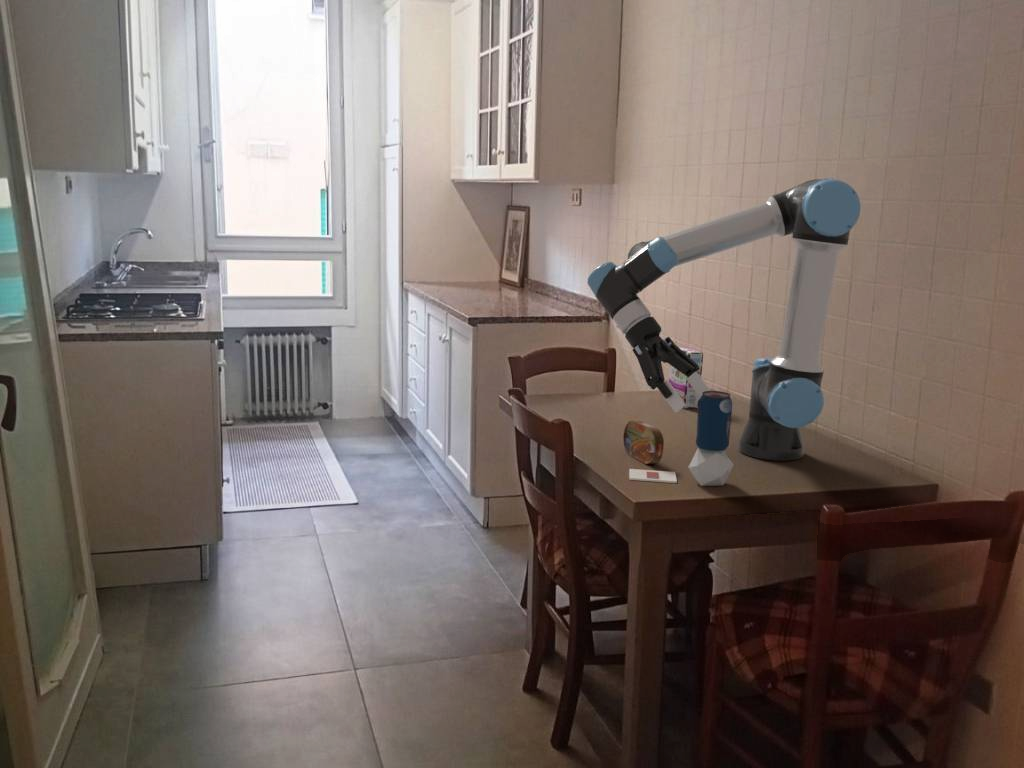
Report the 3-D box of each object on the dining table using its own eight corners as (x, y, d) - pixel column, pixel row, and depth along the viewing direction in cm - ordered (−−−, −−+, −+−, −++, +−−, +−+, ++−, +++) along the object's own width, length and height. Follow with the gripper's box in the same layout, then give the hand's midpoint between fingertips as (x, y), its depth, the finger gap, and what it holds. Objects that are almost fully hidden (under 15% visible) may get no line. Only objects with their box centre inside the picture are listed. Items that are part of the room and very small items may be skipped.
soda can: (734, 452, 201) (738, 396, 199) (703, 453, 199) (708, 397, 197) (719, 444, 208) (724, 389, 205) (689, 445, 206) (694, 390, 204)
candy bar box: (699, 408, 276) (704, 352, 272) (684, 409, 274) (688, 352, 271) (681, 400, 286) (686, 346, 283) (666, 400, 285) (670, 346, 281)
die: (725, 495, 200) (745, 455, 202) (691, 474, 199) (711, 434, 201) (710, 497, 208) (729, 458, 210) (676, 476, 207) (696, 438, 209)
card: (675, 473, 211) (675, 471, 211) (676, 483, 204) (676, 480, 204) (629, 470, 212) (629, 468, 212) (629, 479, 205) (629, 477, 205)
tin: (621, 451, 228) (623, 416, 226) (633, 450, 229) (635, 416, 228) (652, 469, 214) (654, 432, 213) (664, 468, 215) (667, 431, 214)
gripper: (653, 330, 222) (707, 404, 216) (597, 341, 202) (655, 423, 196) (675, 310, 217) (731, 385, 212) (620, 319, 198) (681, 402, 192)
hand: (695, 404), depth 204 cm, fingers open, 13 cm apart
